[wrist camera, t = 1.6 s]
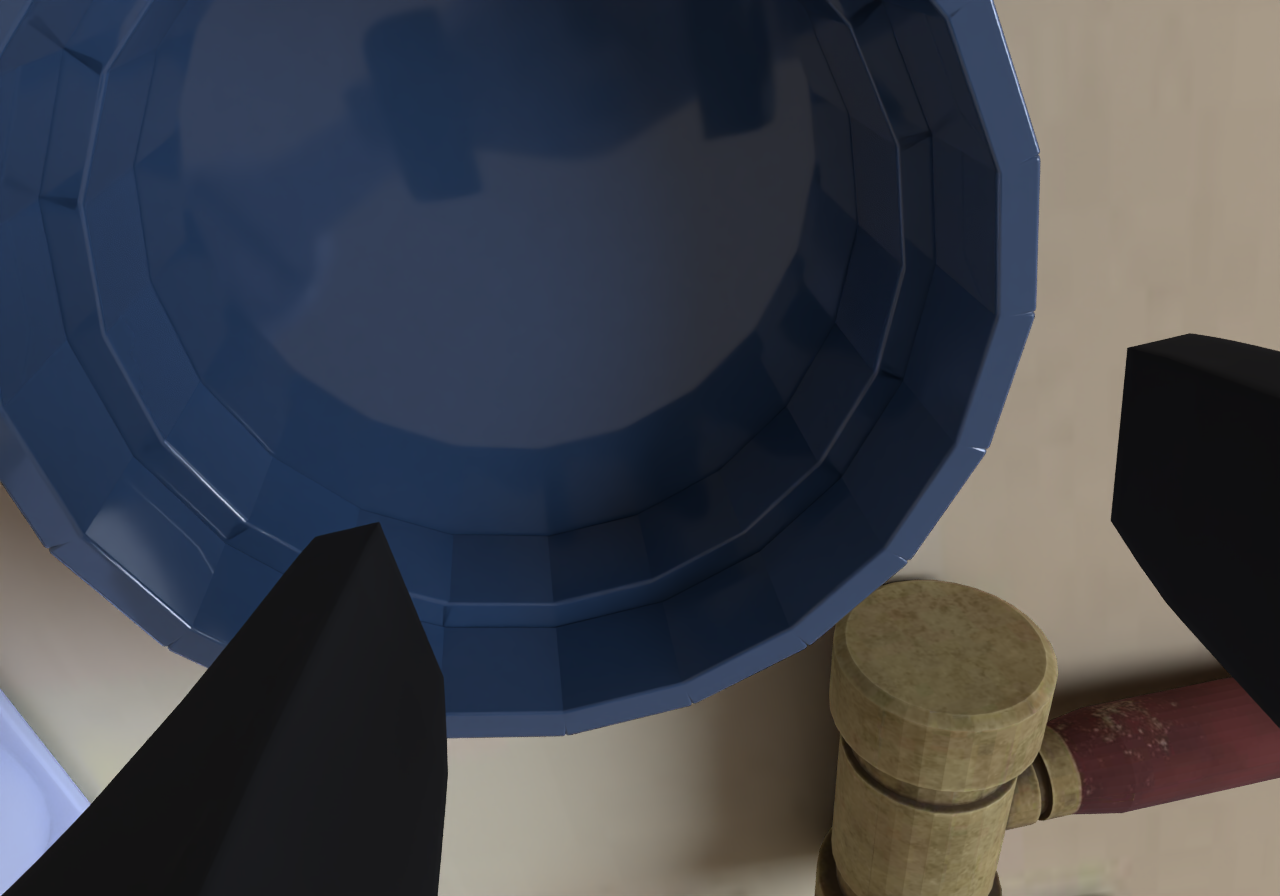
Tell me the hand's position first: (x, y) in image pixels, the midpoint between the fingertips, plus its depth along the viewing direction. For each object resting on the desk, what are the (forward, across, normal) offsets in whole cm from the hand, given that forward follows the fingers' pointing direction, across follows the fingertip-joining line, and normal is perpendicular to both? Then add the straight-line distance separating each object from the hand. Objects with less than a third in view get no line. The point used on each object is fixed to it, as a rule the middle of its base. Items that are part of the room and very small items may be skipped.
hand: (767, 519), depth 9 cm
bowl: (+9, +2, 0) cm, 10 cm away
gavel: (+9, -12, +16) cm, 22 cm away
